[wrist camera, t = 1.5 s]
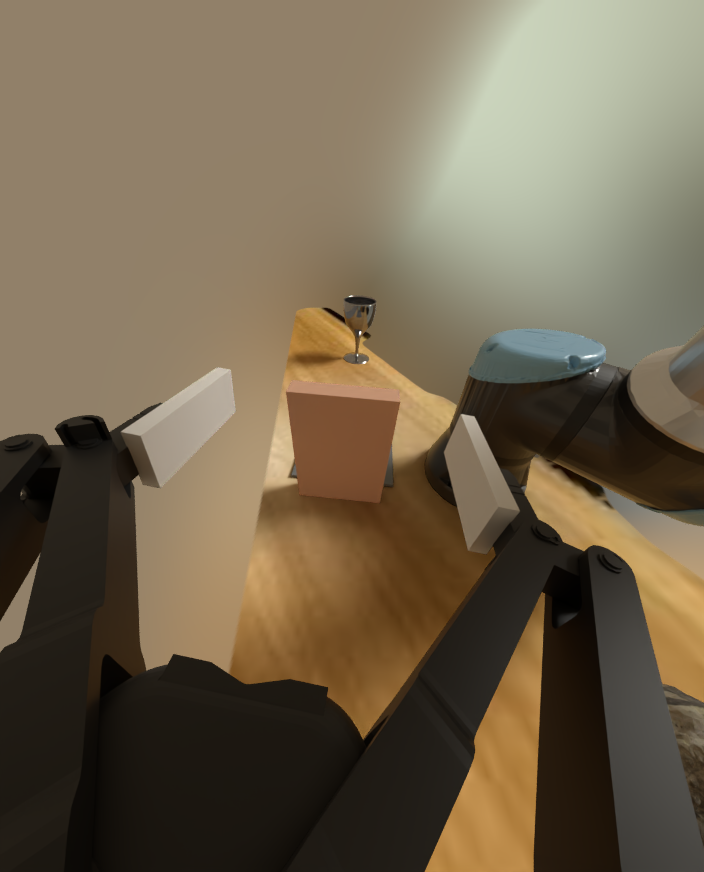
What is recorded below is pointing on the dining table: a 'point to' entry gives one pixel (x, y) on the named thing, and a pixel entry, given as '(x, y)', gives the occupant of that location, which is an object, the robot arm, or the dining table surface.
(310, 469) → the tile
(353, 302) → the wine glass
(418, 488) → the dining table surface
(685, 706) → the fossil
